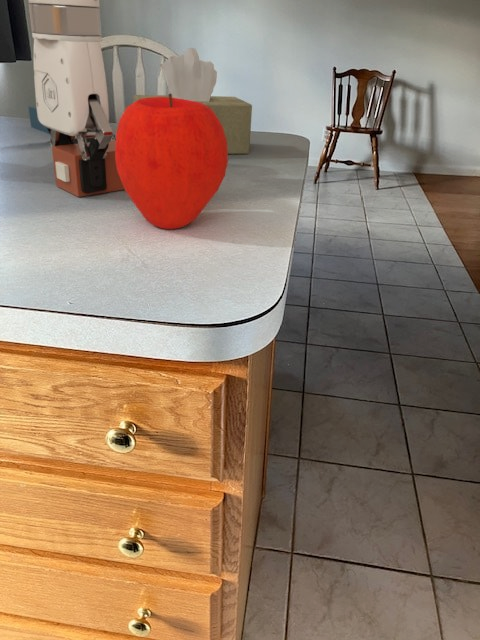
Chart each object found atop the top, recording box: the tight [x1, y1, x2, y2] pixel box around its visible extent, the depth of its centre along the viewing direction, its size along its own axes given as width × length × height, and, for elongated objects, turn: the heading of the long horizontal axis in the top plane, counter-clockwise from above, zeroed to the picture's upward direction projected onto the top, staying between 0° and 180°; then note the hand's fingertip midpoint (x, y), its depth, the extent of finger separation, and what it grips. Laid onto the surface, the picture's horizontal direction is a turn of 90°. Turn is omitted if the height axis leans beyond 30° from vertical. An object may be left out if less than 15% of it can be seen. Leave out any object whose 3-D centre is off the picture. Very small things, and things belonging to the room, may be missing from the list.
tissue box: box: [132, 47, 253, 155], centre depth 91 cm, size 19×10×16 cm, turn 107°
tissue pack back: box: [28, 105, 94, 144], centre depth 94 cm, size 13×6×5 cm, turn 42°
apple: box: [115, 93, 229, 230], centre depth 57 cm, size 12×12×13 cm
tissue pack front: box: [51, 139, 125, 198], centre depth 71 cm, size 13×6×5 cm, turn 132°
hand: (80, 183), depth 69 cm, fingers closed on tissue pack front, 6 cm apart
